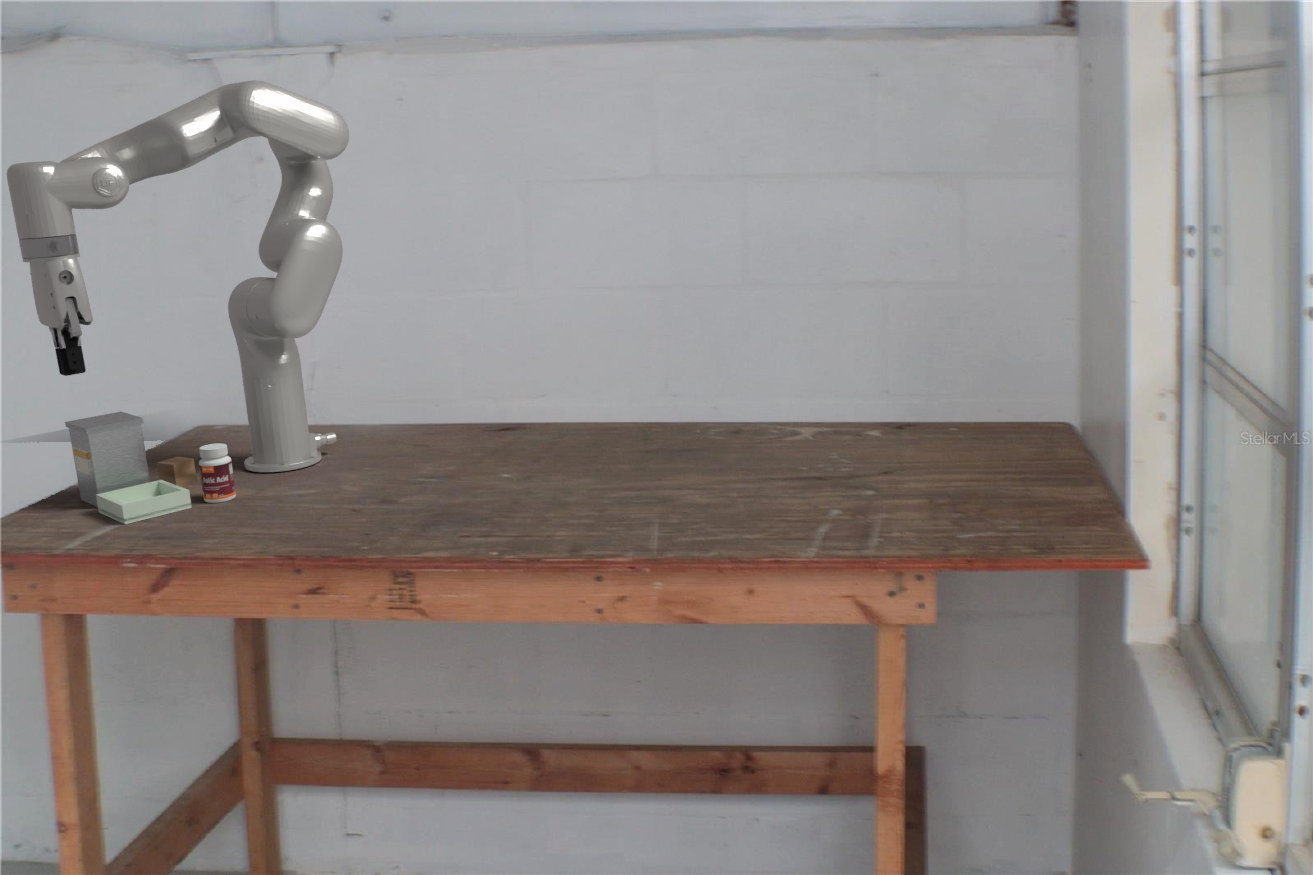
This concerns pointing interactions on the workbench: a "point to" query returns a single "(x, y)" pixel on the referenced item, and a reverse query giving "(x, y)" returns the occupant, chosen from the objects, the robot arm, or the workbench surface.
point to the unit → (108, 453)
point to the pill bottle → (216, 473)
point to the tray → (143, 501)
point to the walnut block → (177, 471)
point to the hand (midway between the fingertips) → (73, 373)
